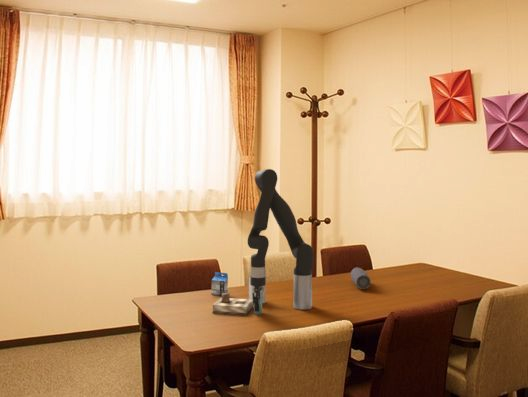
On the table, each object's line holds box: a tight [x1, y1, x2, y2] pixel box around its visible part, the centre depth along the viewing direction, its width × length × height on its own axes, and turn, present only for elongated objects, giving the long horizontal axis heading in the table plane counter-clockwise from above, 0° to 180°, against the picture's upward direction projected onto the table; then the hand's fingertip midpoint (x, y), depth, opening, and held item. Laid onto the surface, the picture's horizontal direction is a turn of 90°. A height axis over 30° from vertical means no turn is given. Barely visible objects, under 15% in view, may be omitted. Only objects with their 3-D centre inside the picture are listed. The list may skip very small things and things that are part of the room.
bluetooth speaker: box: [350, 267, 372, 290], centre depth 307 cm, size 23×9×10 cm, turn 179°
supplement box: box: [248, 277, 266, 305], centre depth 271 cm, size 7×7×13 cm
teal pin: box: [253, 295, 263, 315], centre depth 251 cm, size 4×4×9 cm
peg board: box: [212, 292, 254, 316], centre depth 257 cm, size 17×14×8 cm
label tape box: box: [210, 271, 229, 297], centre depth 287 cm, size 9×4×12 cm, turn 62°
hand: (258, 309), depth 251 cm, fingers closed on teal pin, 4 cm apart
